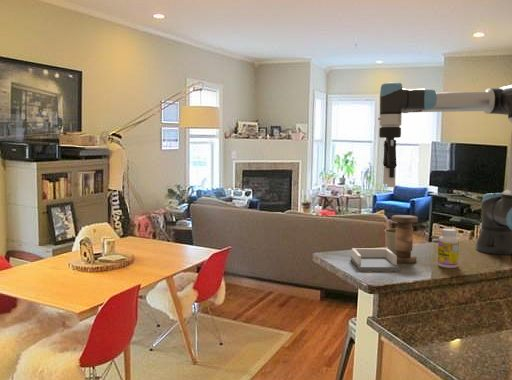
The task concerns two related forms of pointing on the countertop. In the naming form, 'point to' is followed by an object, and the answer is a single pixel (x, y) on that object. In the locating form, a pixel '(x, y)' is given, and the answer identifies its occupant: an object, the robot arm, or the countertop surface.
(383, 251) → the grey shallow tray
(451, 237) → the supplement bottle
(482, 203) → the robot arm
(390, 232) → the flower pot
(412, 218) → the spool post
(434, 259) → the countertop surface
